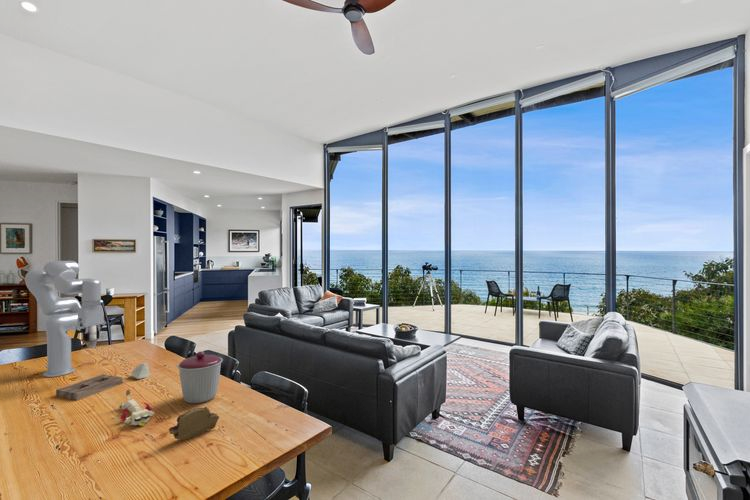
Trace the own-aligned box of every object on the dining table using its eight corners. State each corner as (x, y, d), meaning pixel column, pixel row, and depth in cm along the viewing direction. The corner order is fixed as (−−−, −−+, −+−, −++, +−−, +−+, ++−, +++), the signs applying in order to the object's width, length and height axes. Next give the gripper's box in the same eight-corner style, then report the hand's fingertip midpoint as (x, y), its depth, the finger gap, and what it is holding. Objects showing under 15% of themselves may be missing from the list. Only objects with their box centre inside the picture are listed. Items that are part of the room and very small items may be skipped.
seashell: (152, 367, 186) (153, 364, 180) (144, 383, 180) (146, 380, 175) (135, 364, 182) (136, 360, 177) (127, 380, 177) (128, 376, 172)
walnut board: (56, 396, 155) (56, 389, 155) (102, 380, 174) (102, 374, 174) (77, 400, 151) (77, 393, 151) (122, 383, 170) (122, 377, 170)
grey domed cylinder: (84, 347, 172) (84, 323, 172) (93, 345, 176) (93, 322, 176) (89, 348, 171) (89, 324, 171) (98, 346, 175) (98, 322, 175)
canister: (204, 409, 142) (204, 359, 142) (167, 405, 146) (167, 356, 146) (230, 391, 160) (230, 347, 160) (197, 388, 163) (197, 345, 163)
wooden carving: (214, 424, 130) (214, 398, 130) (220, 428, 127) (220, 402, 127) (166, 443, 117) (166, 414, 117) (171, 448, 114) (171, 419, 114)
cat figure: (113, 414, 141) (127, 431, 124) (112, 392, 142) (126, 406, 125) (141, 406, 149) (158, 420, 132) (141, 385, 149) (157, 397, 132)
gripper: (103, 301, 183) (103, 335, 183) (67, 306, 167) (67, 343, 167) (113, 301, 180) (113, 336, 181) (77, 307, 165) (77, 344, 165)
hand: (91, 339), depth 174 cm, fingers closed on grey domed cylinder, 4 cm apart
